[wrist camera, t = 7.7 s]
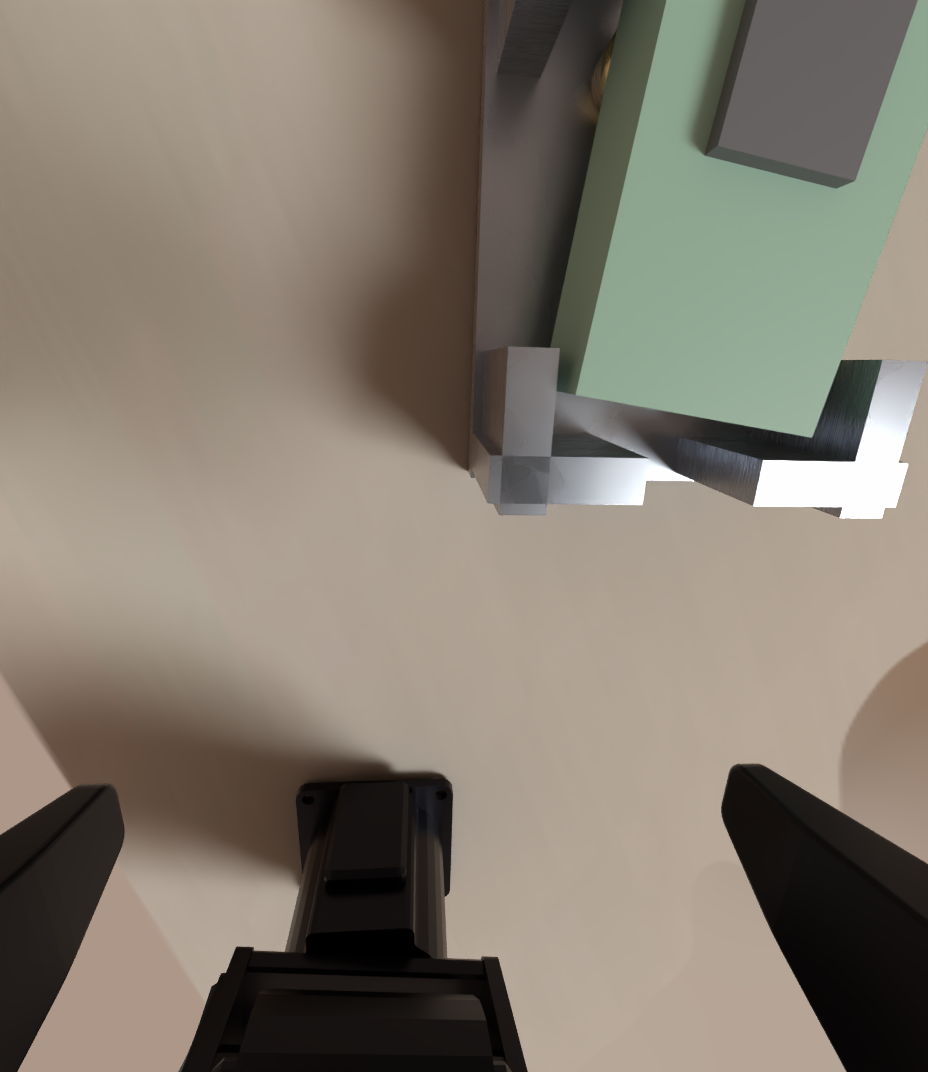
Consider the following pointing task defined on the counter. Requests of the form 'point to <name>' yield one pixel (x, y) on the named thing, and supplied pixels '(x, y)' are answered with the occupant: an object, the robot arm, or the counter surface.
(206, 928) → the counter surface
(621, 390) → the green block
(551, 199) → the chassis
